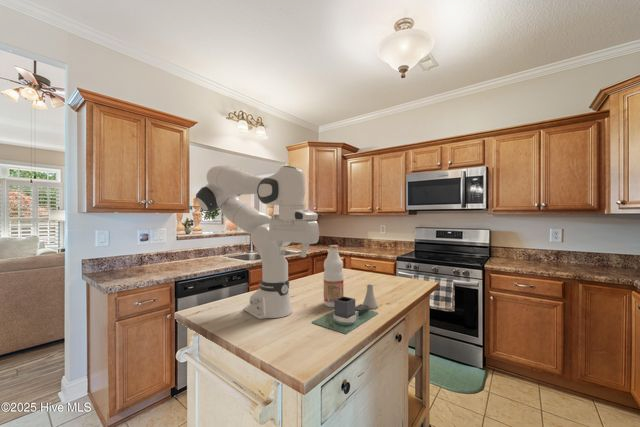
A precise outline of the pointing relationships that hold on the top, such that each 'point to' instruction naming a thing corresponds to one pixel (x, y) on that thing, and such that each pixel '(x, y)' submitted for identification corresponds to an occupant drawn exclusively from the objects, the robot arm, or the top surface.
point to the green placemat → (346, 320)
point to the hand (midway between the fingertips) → (292, 255)
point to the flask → (370, 298)
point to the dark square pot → (344, 307)
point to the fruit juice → (333, 276)
